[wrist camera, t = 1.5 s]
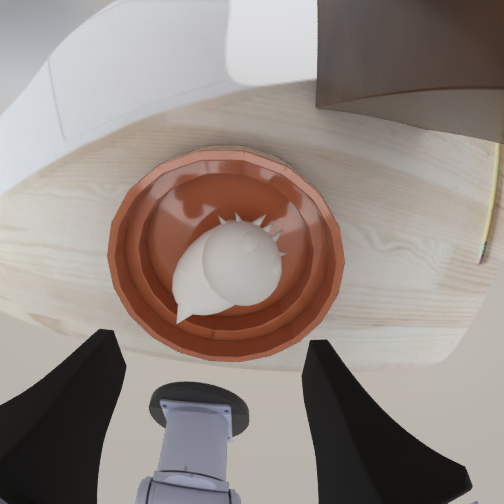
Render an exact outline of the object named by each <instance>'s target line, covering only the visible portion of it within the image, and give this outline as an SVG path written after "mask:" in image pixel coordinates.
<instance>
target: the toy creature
mask: <svg viewBox="0 0 504 504" xmlns="http://www.w3.org/2000/svg"><path fill="white" fill-rule="evenodd" d="M235 215H236V220H234V219H230V220H227V221H225V220H223V219H222V218H221V217H220V216H219V219H220V222H221V224H220V225H218V226H216V227H214V228H212V229H210V230H209V231H207V232H205V233H203V234H202V235H201V236H200V237H199V238H197V239H196V240H195V241H194V242H193V243H192V244H191V245H190V246H189V247H188V248H187V250H186V251H185V253H184V254H183V255H182V257H181V258H180V260H179V261H178V264H177V266H176V269H175V272H174V274H173V282H172V292H173V295H174V298H175V301H176V303H177V304H178V311H177V323H176V324H178V323H179V322H181V321H183V320H184V319H186V318H188V317H189V316H191V315H193V314H194V315H210V314H215V313H219V312H222V311H224V310H226V309H228V308H231V307H233V306H234V305H235V304H236V305H239V306H250V305H254V304H258V303H260V302H262V301H263V300H265V299H267V298H268V297H269V296H270V295H271V294H272V293H273V291H274V290H275V289H276V287H277V285H278V283H279V280H280V277H281V273H282V263H281V256H283V255H286V254H289V253H285V252H280V251H279V250H278V247H277V245H276V241H277V239H278V238H279V236H280V234H281V233H282V231H283V229H282V230H281V231H279V232H277V233H275V234H273V235H271V236H270V235H269V234H268V233H269V231H270V229H271V227H272V226H273V224H274V222H275V221H274V222H273V223H271V224H269V225H267V226H265V227H263V228H261V227H260V225H261V223H262V222H263V220H264V218H265V216H266V215H267V214H265V215H264V216H262V217H260V218H258V219H256V220H255V221H253V222H247V221H242V219H241V218H240V217H239V216H238V214H237V213H236V212H235Z"/></svg>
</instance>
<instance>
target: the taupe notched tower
mask: <svg viewBox="0 0 504 504" xmlns="http://www.w3.org/2000/svg"><path fill="white" fill-rule="evenodd" d="M317 5H318V58H317V59H318V60H317V93H316V108H320V109H328V110H335V111H342V112H349V113H355V114H360V115H366V116H371V117H376V118H381V119H386V120H391V121H395V122H399V123H403V124H408V125H412V126H415V127H419V128H423V129H426V130H433V131H440V132H446V133H453V134H458V135H464V136H469V137H474V138H479V139H484V140H488V141H492V142H497V143H501V144H504V0H317Z"/></svg>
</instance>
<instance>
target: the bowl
mask: <svg viewBox="0 0 504 504" xmlns="http://www.w3.org/2000/svg"><path fill="white" fill-rule="evenodd" d="M235 212H236V213H237V214H238V216H239V217H240V218H241V219H242V221H247V222H253V221H255V220H256V219H258V218H260V217H262V216H264V215H265V214H267V215H266V216H265V218H264V220H263V222H262V223H261V225H260V227H261V228H263V227H265V226H267V225H269V224H271V223H273V222H274V221H275V222H274V224H273V226H272V227H271V229H270V231H269V233H268V234H269V235H270V236H271V235H273V234H275V233H277V232H279V231H281V230H282V229H283V231H282V233H281V234H280V236H279V238H278V239H277V241H276V245H277V247H278V250H279V251H280V252H285V253H289V254H286V255H283V256H281V263H282V273H281V277H280V280H279V283H278V285H277V287H276V289H275V290H274V291H273V293H272V294H271V295H270V296H269V297H268V298H267V299H265V300H263V301H262V302H260V303H258V304H254V305H250V306H239V305H236V304H235V305H234V306H233V307H231V308H228V309H226V310H224V311H222V312H219V313H215V314H210V315H194V314H193V315H191V316H189V317H188V318H186V319H184V320H183V321H181V322H179V323H178V324H176V323H177V311H178V304H177V303H176V301H175V298H174V295H173V292H172V282H173V274H174V272H175V269H176V266H177V264H178V261H179V260H180V258H181V257H182V255H183V254H184V253H185V251H186V250H187V248H188V247H189V246H190V245H191V244H192V243H193V242H194V241H195V240H196V239H197V238H199V237H200V236H201V235H202V234H203V233H205V232H207V231H209V230H210V229H212V228H214V227H216V226H218V225H220V224H221V222H220V219H219V216H220V217H221V218H222V219H223V220H225V221H227V220H230V219H234V220H236V215H235ZM107 258H108V263H109V268H110V273H111V277H112V282H113V286H114V289H115V291H116V292H117V294H118V296H119V298H120V300H121V301H122V303H123V305H124V307H125V308H126V310H127V312H128V313H129V315H130V316H131V317H132V318H133V319H134V320H135V321H136V322H137V323H138V324H139V325H140V326H141V327H142V328H143V329H144V330H145V331H146V332H147V333H148V334H149V335H151V336H152V337H153V338H155V339H156V340H158V341H160V342H162V343H163V344H165V345H167V346H169V347H171V348H172V349H174V350H176V351H178V352H180V353H183V354H187V355H190V356H194V357H197V358H201V359H205V360H209V361H225V362H240V361H241V362H243V361H248V360H253V359H258V358H263V357H267V356H271V355H273V354H276V353H278V352H280V351H282V350H284V349H286V348H288V347H290V346H292V345H294V344H296V343H298V342H300V341H301V340H302V339H303V338H304V337H305V336H306V335H307V334H309V333H310V332H311V331H312V330H313V329H314V328H315V327H316V326H318V325H319V324H320V323H321V322H322V321H323V319H324V317H325V316H326V314H327V312H328V311H329V309H330V307H331V306H332V304H333V302H334V301H335V299H336V297H337V296H338V293H339V288H340V284H341V279H342V274H343V269H344V264H345V259H344V252H343V246H342V239H341V233H340V228H339V225H338V223H337V222H336V220H335V218H334V216H333V214H332V213H331V211H330V209H329V207H328V206H327V204H326V202H325V201H324V199H323V197H322V195H321V194H320V193H319V192H318V191H317V190H316V189H315V188H314V187H313V186H312V185H311V184H310V183H309V182H308V181H307V180H306V179H305V178H304V177H303V176H301V175H300V174H299V173H298V172H297V171H295V170H294V169H293V168H292V167H290V166H289V165H288V164H287V163H285V162H284V161H283V160H282V159H280V158H278V157H276V156H273V155H270V154H267V153H265V152H262V151H259V150H256V149H253V148H251V147H248V146H235V145H209V146H205V147H202V148H199V149H196V150H193V151H190V152H187V153H185V154H182V155H179V156H176V157H174V158H172V159H170V160H168V161H166V162H164V163H162V164H160V165H158V166H157V167H155V168H154V169H153V170H152V171H151V172H149V173H148V174H147V175H146V176H145V177H144V178H142V179H141V180H140V181H139V182H138V183H137V184H136V185H134V186H133V187H132V188H131V189H130V190H129V191H128V193H127V194H126V196H125V198H124V200H123V202H122V204H121V205H120V207H119V209H118V211H117V213H116V215H115V217H114V219H113V221H112V223H111V230H110V237H109V245H108V254H107Z"/></svg>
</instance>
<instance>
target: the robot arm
mask: <svg viewBox="0 0 504 504" xmlns="http://www.w3.org/2000/svg"><path fill="white" fill-rule="evenodd" d="M125 372H126V364H125V361H124V358H123V356H122V353H121V350H120V348H119V345H118V342H117V339H116V336H115V333H114V331H113V330H106V329H99V330H98V331H97V332H95V333H94V334H93V335H92V336H91V337H90V338H89V339H87V340H86V341H85V342H84V343H83V344H82V345H81V346H80V347H79V348H78V349H76V350H75V351H74V352H73V353H72V354H71V355H70V356H69V357H67V358H66V359H65V360H64V361H63V362H62V363H61V364H60V365H58V366H57V367H56V368H55V369H54V370H52V371H51V372H50V373H49V374H48V375H46V376H45V377H44V378H43V379H41V380H40V381H39V382H37V383H36V384H35V385H33V386H32V387H30V388H29V389H27V390H26V391H24V392H23V393H21V394H20V395H18V396H16V397H14V398H13V399H11V400H9V401H7V402H6V403H4V404H2V405H0V504H97V484H98V473H99V465H100V458H101V453H102V447H103V442H104V438H105V435H106V431H107V429H108V426H109V423H110V420H111V417H112V414H113V411H114V408H115V406H116V403H117V400H118V397H119V395H120V392H121V388H122V385H123V381H124V376H125ZM302 386H303V396H304V403H305V408H306V412H307V417H308V422H309V426H310V431H311V435H312V440H313V445H314V450H315V456H316V465H317V478H318V494H319V495H318V496H319V504H447V503H449V502H451V501H453V500H455V499H456V498H458V497H460V496H462V495H463V494H465V493H467V492H468V491H470V490H471V489H472V483H471V480H470V478H469V475H468V472H467V470H466V468H465V466H462V465H460V464H458V463H456V462H454V461H452V460H450V459H448V458H446V457H444V456H442V455H441V454H439V453H437V452H435V451H434V450H432V449H431V448H429V447H427V446H426V445H425V444H423V443H422V442H420V441H419V440H418V439H416V438H415V437H414V436H412V435H411V434H410V433H408V432H407V431H406V430H404V429H403V428H402V427H401V426H400V425H399V424H398V423H396V422H395V421H394V420H393V419H392V418H391V417H390V416H389V415H388V414H387V413H386V412H385V411H384V410H382V408H381V407H380V406H379V405H378V404H377V403H376V402H375V401H374V400H373V399H372V398H371V396H370V395H369V394H368V393H367V392H366V391H365V389H364V388H363V387H362V386H361V385H360V383H359V382H358V381H357V380H356V378H355V377H354V376H353V375H352V373H351V372H350V371H349V369H348V368H347V367H346V365H345V364H344V363H343V361H342V360H341V358H340V357H339V356H338V354H337V353H336V351H335V350H334V348H333V347H332V346H331V344H330V343H329V341H328V340H310V343H309V348H308V352H307V356H306V360H305V365H304V369H303V373H302ZM160 405H161V408H162V410H163V413H164V415H165V418H166V421H167V424H166V429H165V434H164V439H163V444H162V449H161V454H160V459H159V465H158V471H154V476H153V477H146V478H145V479H143V480H142V481H141V482H140V485H139V488H138V492H137V496H136V503H135V504H241V499H240V496H239V494H238V493H237V492H236V491H235V490H233V489H229V482H226V463H227V442H232V417H231V406H230V405H229V404H215V403H200V402H188V401H178V400H169V399H161V400H160ZM471 504H478V502H477V501H475V502H473V503H471Z"/></svg>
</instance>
